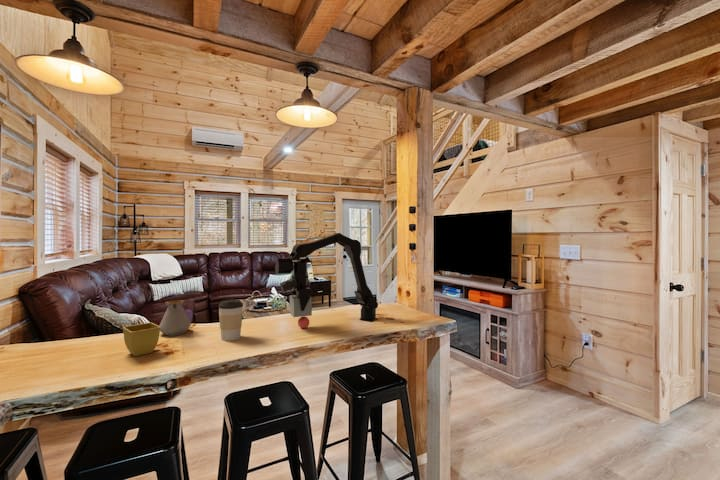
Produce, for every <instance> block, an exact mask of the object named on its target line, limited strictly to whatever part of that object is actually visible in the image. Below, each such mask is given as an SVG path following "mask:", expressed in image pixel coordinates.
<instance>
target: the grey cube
mask: <svg viewBox="0 0 720 480" xmlns="http://www.w3.org/2000/svg"><path fill="white" fill-rule="evenodd" d="M312 303H313V298H312V296H311V297H310V299H309V301H308V303H307V305H306V307H305V309H304V311H301V307H300V300H299V298H298V297H297V296H296V295H293V294H291V295H289V314H290V315H291V316H292V317H293V318H301V317H310V316H313V315H312V311H313V310H312V307H313V304H312Z"/></svg>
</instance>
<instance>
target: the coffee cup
mask: <svg viewBox="0 0 720 480" xmlns="http://www.w3.org/2000/svg"><path fill="white" fill-rule="evenodd" d="M243 307H244V303H243V302H242V300H240V299H236V298H233V299H224V300H221V302H220V303H219V304H218V316H219V317H218V318H219V329H220V339H221V341H225V342H228V341H229V342H230V341H236V340H239V339H240V338H241V330H242V324H243V312H244V311H243Z"/></svg>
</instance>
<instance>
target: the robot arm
mask: <svg viewBox="0 0 720 480" xmlns="http://www.w3.org/2000/svg"><path fill="white" fill-rule="evenodd" d="M336 243H337V244H338V245H340V246H341V247H343V248H344V251H345V253H346V255H347V256H348V258H349V259H350V262H351V267H352V271H353V275H354V278H355V284H356V286H357V287H356V288H357V289H356V290H354V295H355V300H357V302H359V305H360V307H361V308H360V318H359V320H361V321H366V322H374V321H375V320H378V317H376V316H377V314H376V313H377V309H378V306H379V302H377V301H376V300H375V297H374V294H373V292H372V291H371V288H369V286H368V283H367V279H366V275H365V272H364V268H363V267H364V266H363V263H362V258H361V255H362V244H361V242H360V240H359V239H358V240H357V239H352V238H350V237H348V236H346V235H343V234H342V233H340V232H334V233H333V234H330V235H328V236H325V237H322V238H318V239H316V240H314V241H310V242H301V243H297V244H295V245H293V246H292V251H291V252H290V254H289V255H288V256H287V257H284V258H283V257H276V261H275V265H274V271H275V274H276V275H286V274H287V275H288V274H291V273H292V272H293V274H292V275H291V278H290V279H287V280H284V281H282V282H280V283H279V286H280V288H281V291H282V292H283V293H284V292H285V293H286V292H288V291H289V292H290V293H291V295H296V296H297V297H298V298H299V300H300V307H301V311H304V309H305V307H306V305H307V303H308V301H309V299H310V297H312V296H314V290H313V289H312V288H311V287H309V285H308V278H309V275H308V263H312V260H311V259H310V258H309V257H308V256H309V255H312V254H313V253H314V252H315V251H317V250H320V249H323V248H325V247H327V246H331V245H333V244H336Z"/></svg>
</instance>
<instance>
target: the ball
mask: <svg viewBox="0 0 720 480" xmlns="http://www.w3.org/2000/svg"><path fill="white" fill-rule="evenodd" d="M297 325H298V327H299V328H301V329H307V328H308V327H309V325H310V319H309V318H308V316H301V317H298V320H297Z"/></svg>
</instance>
